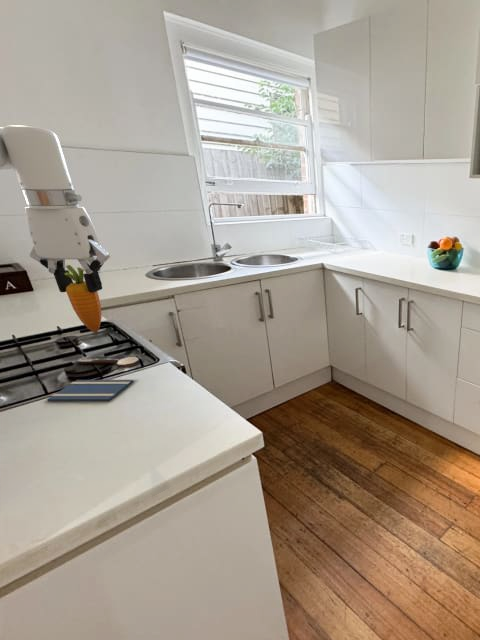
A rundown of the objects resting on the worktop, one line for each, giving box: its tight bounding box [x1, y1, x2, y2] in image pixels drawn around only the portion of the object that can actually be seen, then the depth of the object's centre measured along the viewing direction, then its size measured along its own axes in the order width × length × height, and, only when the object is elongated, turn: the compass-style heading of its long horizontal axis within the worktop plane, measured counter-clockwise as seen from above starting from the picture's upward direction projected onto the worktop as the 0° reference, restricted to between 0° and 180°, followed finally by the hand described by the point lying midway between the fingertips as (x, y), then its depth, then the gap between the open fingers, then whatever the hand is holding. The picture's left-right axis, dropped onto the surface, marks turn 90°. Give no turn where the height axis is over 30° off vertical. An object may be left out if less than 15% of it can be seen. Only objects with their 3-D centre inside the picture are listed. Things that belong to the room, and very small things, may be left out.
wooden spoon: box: [77, 356, 140, 369], centre depth 93 cm, size 14×4×1 cm, turn 93°
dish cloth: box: [46, 379, 134, 402], centre depth 81 cm, size 12×8×1 cm, turn 93°
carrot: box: [65, 264, 102, 334], centre depth 82 cm, size 5×5×15 cm
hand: (81, 289), depth 81 cm, fingers closed on carrot, 5 cm apart
